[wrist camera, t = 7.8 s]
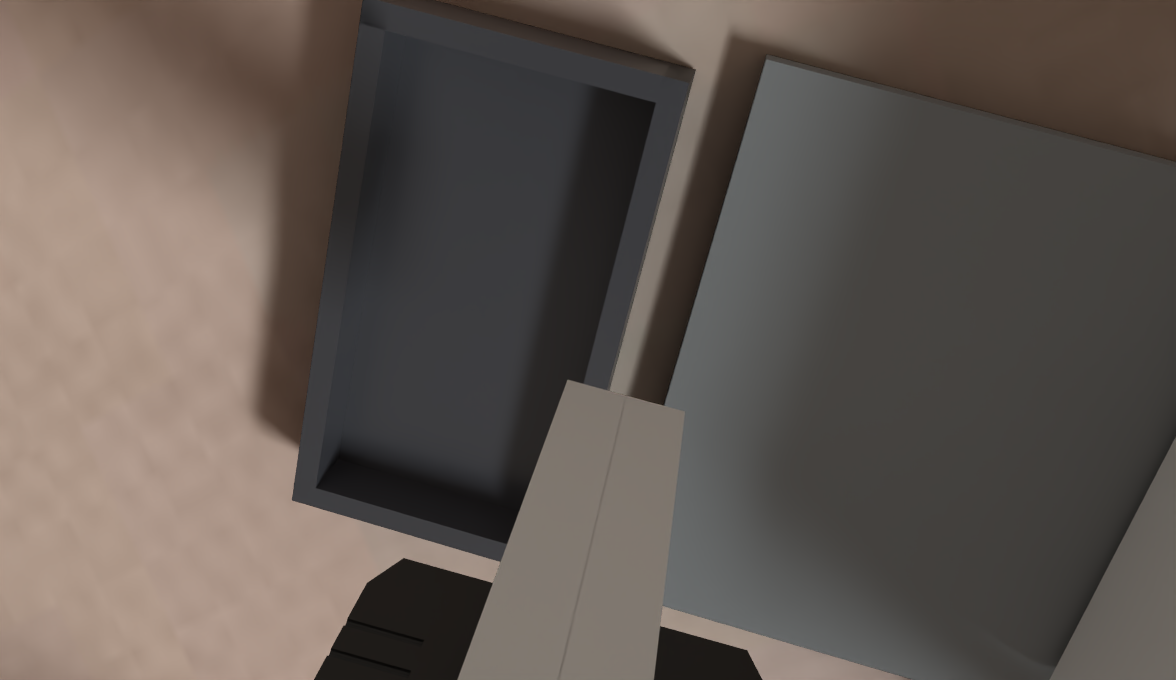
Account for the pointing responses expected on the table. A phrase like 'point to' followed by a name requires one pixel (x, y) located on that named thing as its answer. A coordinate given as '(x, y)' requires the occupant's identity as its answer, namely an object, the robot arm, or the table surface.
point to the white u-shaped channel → (1133, 598)
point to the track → (920, 379)
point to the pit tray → (475, 261)
